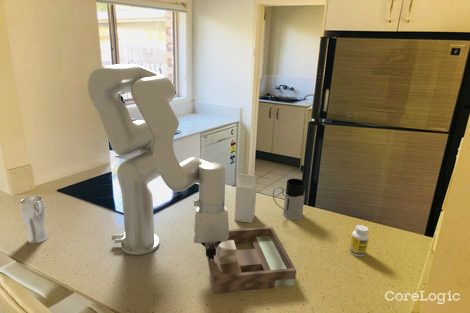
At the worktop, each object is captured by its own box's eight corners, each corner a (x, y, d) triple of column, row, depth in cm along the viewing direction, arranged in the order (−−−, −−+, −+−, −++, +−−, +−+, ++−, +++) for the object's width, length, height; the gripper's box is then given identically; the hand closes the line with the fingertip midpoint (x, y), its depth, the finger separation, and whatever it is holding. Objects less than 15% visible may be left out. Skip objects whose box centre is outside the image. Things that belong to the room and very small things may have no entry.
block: (219, 264, 100) (220, 250, 99) (217, 254, 105) (218, 241, 103) (235, 263, 101) (236, 249, 100) (232, 253, 106) (233, 240, 104)
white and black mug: (306, 218, 135) (311, 185, 130) (275, 222, 131) (278, 188, 126) (297, 209, 143) (300, 177, 138) (267, 212, 139) (269, 179, 134)
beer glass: (54, 236, 115) (47, 198, 110) (35, 246, 109) (27, 206, 104) (40, 231, 118) (34, 193, 113) (21, 241, 112) (13, 201, 107)
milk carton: (252, 223, 129) (254, 179, 123) (234, 221, 131) (236, 177, 124) (254, 215, 136) (257, 172, 130) (237, 212, 137) (240, 170, 131)
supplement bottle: (357, 258, 110) (362, 233, 107) (345, 250, 115) (350, 225, 112) (368, 254, 113) (373, 229, 109) (356, 246, 117) (361, 222, 114)
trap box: (213, 293, 92) (214, 277, 90) (205, 245, 114) (205, 231, 112) (294, 285, 96) (296, 270, 95) (270, 240, 119) (272, 226, 117)
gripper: (186, 211, 91) (187, 266, 97) (239, 209, 94) (236, 262, 100) (185, 199, 98) (186, 251, 104) (234, 197, 101) (232, 248, 107)
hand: (210, 257), depth 102 cm, fingers closed
